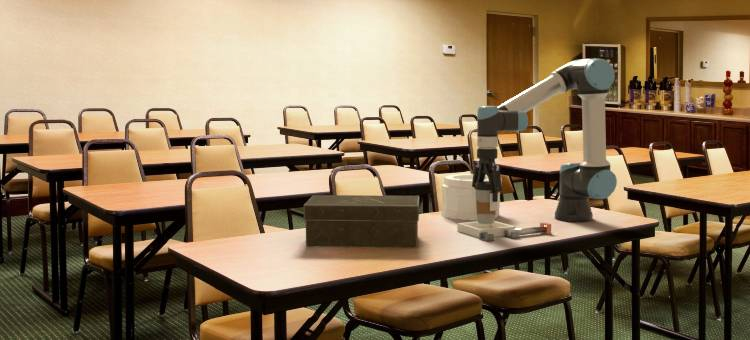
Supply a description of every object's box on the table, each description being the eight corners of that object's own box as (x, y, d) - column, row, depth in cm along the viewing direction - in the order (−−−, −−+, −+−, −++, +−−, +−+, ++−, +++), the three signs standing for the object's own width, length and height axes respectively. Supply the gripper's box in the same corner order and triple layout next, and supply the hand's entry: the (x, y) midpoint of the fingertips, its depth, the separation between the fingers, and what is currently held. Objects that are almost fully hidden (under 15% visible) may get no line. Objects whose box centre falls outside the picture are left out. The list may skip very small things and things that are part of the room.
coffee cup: (496, 225, 290) (497, 184, 288) (473, 224, 291) (474, 183, 290) (497, 221, 298) (498, 181, 296) (475, 220, 299) (476, 181, 298)
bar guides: (510, 235, 290) (511, 229, 289) (519, 237, 285) (519, 231, 285) (479, 239, 283) (479, 232, 283) (486, 241, 279) (487, 234, 279)
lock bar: (544, 231, 296) (544, 222, 296) (551, 233, 293) (551, 224, 292) (504, 236, 288) (505, 226, 288) (511, 238, 284) (511, 228, 284)
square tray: (490, 227, 305) (491, 219, 305) (515, 234, 292) (515, 226, 291) (457, 231, 298) (457, 223, 298) (480, 238, 285) (480, 230, 284)
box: (418, 249, 268) (418, 205, 267) (304, 247, 271) (303, 204, 269) (419, 236, 291) (419, 195, 289) (313, 235, 293) (312, 194, 292)
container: (469, 208, 351) (469, 172, 349) (511, 215, 333) (512, 177, 332) (430, 215, 334) (430, 177, 332) (473, 222, 317) (473, 182, 315)
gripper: (462, 146, 299) (462, 205, 302) (495, 150, 280) (494, 213, 283) (479, 145, 302) (478, 204, 305) (512, 149, 284) (511, 212, 286)
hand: (486, 208), depth 294 cm, fingers closed on coffee cup, 8 cm apart
